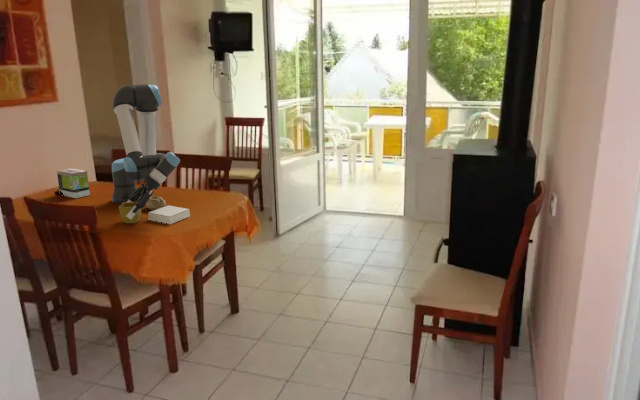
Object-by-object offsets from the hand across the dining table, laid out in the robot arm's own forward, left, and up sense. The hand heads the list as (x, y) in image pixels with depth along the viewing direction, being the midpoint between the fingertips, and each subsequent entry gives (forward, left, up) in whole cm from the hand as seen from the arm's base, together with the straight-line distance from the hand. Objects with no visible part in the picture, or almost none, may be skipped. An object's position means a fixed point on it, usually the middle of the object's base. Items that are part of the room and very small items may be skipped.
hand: (125, 214), depth 244 cm
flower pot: (+1, +2, -5) cm, 5 cm away
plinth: (+13, +15, -4) cm, 21 cm away
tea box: (-67, +23, -5) cm, 71 cm away
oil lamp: (-4, +24, -5) cm, 25 cm away
